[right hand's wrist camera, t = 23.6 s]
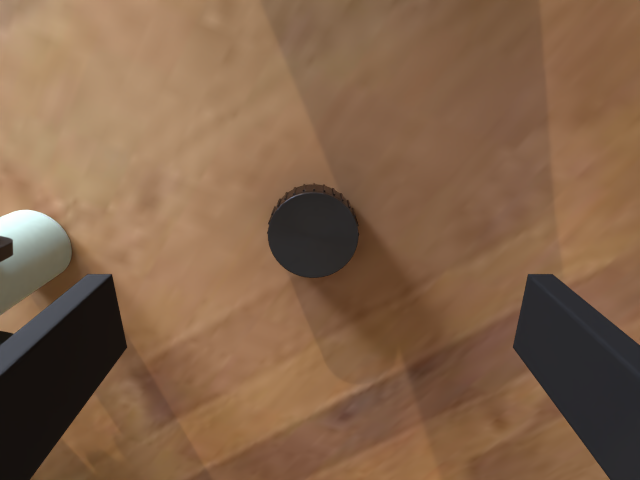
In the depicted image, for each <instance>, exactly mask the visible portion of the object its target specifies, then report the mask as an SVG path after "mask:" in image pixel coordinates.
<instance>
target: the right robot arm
mask: <svg viewBox="0 0 640 480" xmlns="http://www.w3.org/2000/svg"><path fill="white" fill-rule="evenodd" d="M126 348H127V345H126V340H125V335H124V330H123V325H122V321H121V316H120V311H119V306H118V301H117V296H116V292H115V287H114V282H113V277H112V274H87V275H86V276H85V277H84V278H82V279H81V280H80V281H79V282H77V283H76V284H75V285H74V286H73V287H71V288H70V289H69V290H68V291H66V292H65V293H64V294H63V295H61V296H60V297H59V298H58V299H57V300H55V301H54V302H53V303H52V304H50V305H49V306H48V307H47V308H46V309H44V310H43V311H42V312H41V313H39V314H38V315H37V316H36V317H34V318H33V319H32V320H31V321H30V322H28V323H27V324H26V325H25V326H23V327H22V328H21V329H20V330H18V331H17V332H16V333H15V334H14V335H12V336H11V337H10V338H9V339H7V340H6V341H5V342H4V343H3V344H1V345H0V480H30V479H31V477H32V476H33V475H34V473H35V472H36V470H37V469H38V468H39V466H40V465H41V464H42V462H43V461H44V460H45V458H46V457H47V456H48V454H49V453H50V451H51V450H52V449H53V447H54V446H55V445H56V443H57V442H58V441H59V439H60V438H61V436H62V435H63V434H64V432H65V431H66V430H67V428H68V427H69V426H70V424H71V423H72V422H73V420H74V419H75V417H76V416H77V415H78V413H79V412H80V411H81V409H82V408H83V407H84V405H85V404H86V402H87V401H88V400H89V398H90V397H91V396H92V394H93V393H94V392H95V390H96V389H97V388H98V386H99V385H100V383H101V382H102V381H103V379H104V378H105V377H106V375H107V374H108V373H109V371H110V370H111V368H112V367H113V366H114V364H115V363H116V362H117V360H118V359H119V358H120V356H121V355H122V354H123V352H124V351H125V349H126ZM513 348H514V349H515V351H516V352H517V354H518V355H519V356H520V358H521V359H522V360H523V362H524V363H525V364H526V366H527V367H528V368H529V370H530V371H531V373H532V374H533V375H534V377H535V378H536V379H537V381H538V382H539V383H540V385H541V386H542V388H543V389H544V390H545V392H546V393H547V394H548V396H549V397H550V398H551V400H552V401H553V402H554V404H555V405H556V407H557V408H558V409H559V411H560V412H561V413H562V415H563V416H564V417H565V419H566V420H567V422H568V423H569V424H570V426H571V427H572V428H573V430H574V431H575V432H576V434H577V435H578V436H579V438H580V439H581V441H582V442H583V443H584V445H585V446H586V447H587V449H588V450H589V451H590V453H591V454H592V456H593V457H594V458H595V460H596V461H597V462H598V464H599V465H600V466H601V468H602V469H603V470H604V472H605V473H606V475H607V476H608V477H609V479H610V480H640V345H639V344H637V343H636V342H635V341H634V340H633V339H631V338H630V337H629V336H628V335H626V334H625V333H624V332H623V331H622V330H620V329H619V328H618V327H617V326H615V325H614V324H613V323H612V322H610V321H609V320H608V319H607V318H606V317H604V316H603V315H602V314H601V313H599V312H598V311H597V310H596V309H594V308H593V307H592V306H591V305H590V304H588V303H587V302H586V301H585V300H583V299H582V298H581V297H580V296H579V295H577V294H576V293H575V292H574V291H572V290H571V289H570V288H569V287H567V286H566V285H565V284H564V283H563V282H561V281H560V280H559V279H558V278H556V277H555V276H554V275H553V274H528V277H527V282H526V287H525V292H524V296H523V301H522V306H521V311H520V316H519V321H518V325H517V330H516V335H515V340H514V345H513Z"/></svg>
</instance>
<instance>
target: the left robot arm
mask: <svg viewBox="0 0 640 480" xmlns="http://www.w3.org/2000/svg"><path fill="white" fill-rule="evenodd" d="M12 255H13V240H12V239H11V238H8V237H3V236H0V262H2V261H3V260H5V259H7V258H9V257H11V256H12ZM12 335H14V334H12V333H8V332H3V331H0V345H1V344H3V343H4V342H5V341H6V340H7V339H9V338H10V337H11V336H12Z"/></svg>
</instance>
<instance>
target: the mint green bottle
mask: <svg viewBox="0 0 640 480" xmlns="http://www.w3.org/2000/svg"><path fill="white" fill-rule="evenodd" d="M0 236H3V237H8V238H11V239H12V240H13V255H12V256H11V257H9V258H7V259H5V260H3V261H2V262H0V315H1V314H3V313H4V312H5V311H7V310H8V309H10V308H11V307H13V306H14V305H16V304H17V303H19V302H20V301H21V300H23V299H24V298H26V297H27V296H29V295H30V294H32V293H33V292H34V291H36V290H37V289H39V288H40V287H42V286H43V285H45V284H46V283H47V282H49V281H50V280H52V279H53V278H55V277H56V276H58V275H59V274H61V273H62V272H63V271H64V270H65V269H66V268H67V266H68V265H69V263H70V260H71V256H72V247H71V243H70V240H69V238H68V235H67V234H66V232H65V231H64V229H63V228H62V227H61V226H60V225H59V224H58V223H57V222H56V221H55V220H53V219H52V218H50V217H49V216H47V215H45V214H42V213H40V212H36V211H31V210H20V211H15V212H12V213H10V214H7V215H5V216H2V217H0Z"/></svg>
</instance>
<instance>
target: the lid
mask: <svg viewBox="0 0 640 480" xmlns="http://www.w3.org/2000/svg"><path fill="white" fill-rule="evenodd" d="M268 224H269V228H268V232H267V234H268V241H269V246H270V249H271V251H272V253H273V255H274V257H275V258H276V260H277V261H278V262H279V263H280V265H282V266H283V267H284V268H285V269H287V270H288V271H290V272H292V273H294V274H296V275H299V276H303V277H309V278H318V277H324V276H328V275H330V274H333V273H335V272H337V271H338V270H340V269H341V268H343V267H344V266H345V265H346V264H347V263H348V262H349V260H350V259H351V258H352V256H353V254H354V252H355V250H356V247H357V243H358V236H359V233H358V227H357V226H358V222H357V219H356V216H355V213H354V210H353V208H351V206H350V204H349V201H348V200H346V199H345V198H344V197H343V195H342V193H341V194H340V193H338V192H337V191H335V190H334V188H332V189H331V188H329V187H326V186H325V185H323V186H322V185H315V183H313V185H305V184H303V186H300V187H298V188H296V187H294V189H293V190H291V191H290V192H286V194H285V196H284V197H283V198H282V199H279V201H278V204H277V206H276V207H274V209H273V212H272V214H271V217H270V220H269V223H268Z"/></svg>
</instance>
